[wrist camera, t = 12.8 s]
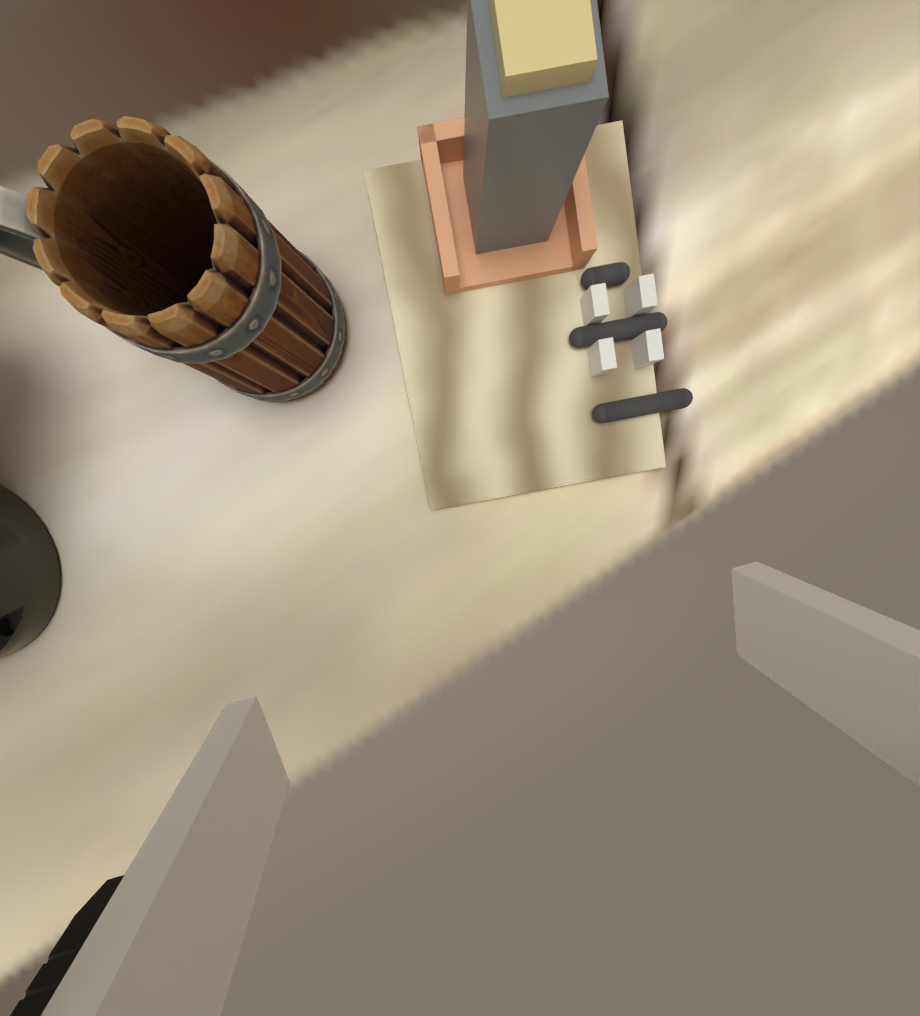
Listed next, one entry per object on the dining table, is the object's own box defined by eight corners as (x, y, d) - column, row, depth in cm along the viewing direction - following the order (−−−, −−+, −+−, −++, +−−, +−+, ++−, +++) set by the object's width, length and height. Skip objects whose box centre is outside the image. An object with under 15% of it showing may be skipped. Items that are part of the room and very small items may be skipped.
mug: (360, 271, 32) (274, 107, 17) (338, 415, 33) (241, 382, 18) (146, 229, 31) (-136, 22, 16) (132, 377, 32) (-142, 310, 18)
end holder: (445, 295, 31) (444, 277, 28) (421, 159, 30) (417, 126, 27) (583, 268, 31) (597, 248, 28) (564, 131, 30) (576, 95, 27)
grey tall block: (475, 254, 30) (490, 99, 17) (463, 176, 29) (468, -46, 16) (547, 241, 30) (617, 75, 17) (536, 163, 29) (600, -71, 16)
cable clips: (590, 377, 32) (602, 370, 29) (579, 299, 31) (590, 285, 28) (647, 366, 32) (664, 358, 29) (637, 288, 31) (653, 273, 28)
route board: (431, 508, 34) (430, 510, 33) (367, 181, 31) (364, 170, 30) (658, 466, 34) (666, 466, 32) (615, 133, 31) (622, 120, 30)
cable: (579, 427, 32) (585, 426, 31) (557, 278, 31) (562, 269, 29) (687, 407, 32) (697, 405, 30) (669, 256, 31) (679, 247, 29)
